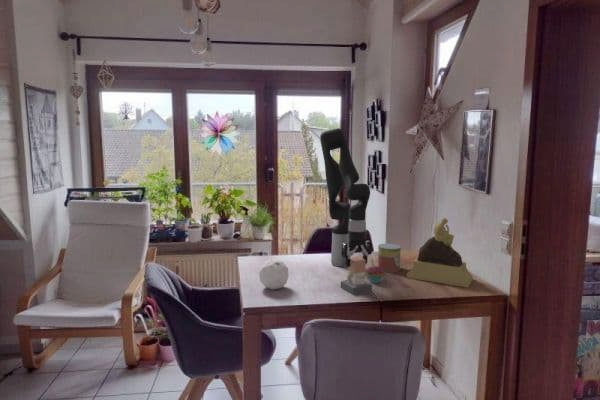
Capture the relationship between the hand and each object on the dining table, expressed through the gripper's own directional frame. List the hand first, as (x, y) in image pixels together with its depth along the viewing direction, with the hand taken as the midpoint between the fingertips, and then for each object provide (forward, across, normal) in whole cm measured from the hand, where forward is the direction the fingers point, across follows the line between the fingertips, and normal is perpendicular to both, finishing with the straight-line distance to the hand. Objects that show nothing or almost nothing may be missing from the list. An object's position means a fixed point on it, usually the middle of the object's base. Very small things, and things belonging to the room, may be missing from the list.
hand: (356, 265), depth 194 cm
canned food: (+11, +32, +18) cm, 38 cm away
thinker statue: (+12, +44, -5) cm, 46 cm away
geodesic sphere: (+11, -32, +18) cm, 38 cm away
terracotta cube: (+3, 0, 0) cm, 3 cm away
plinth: (+11, 0, 0) cm, 11 cm away
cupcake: (+11, +14, +5) cm, 19 cm away
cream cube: (+8, 0, 0) cm, 8 cm away
